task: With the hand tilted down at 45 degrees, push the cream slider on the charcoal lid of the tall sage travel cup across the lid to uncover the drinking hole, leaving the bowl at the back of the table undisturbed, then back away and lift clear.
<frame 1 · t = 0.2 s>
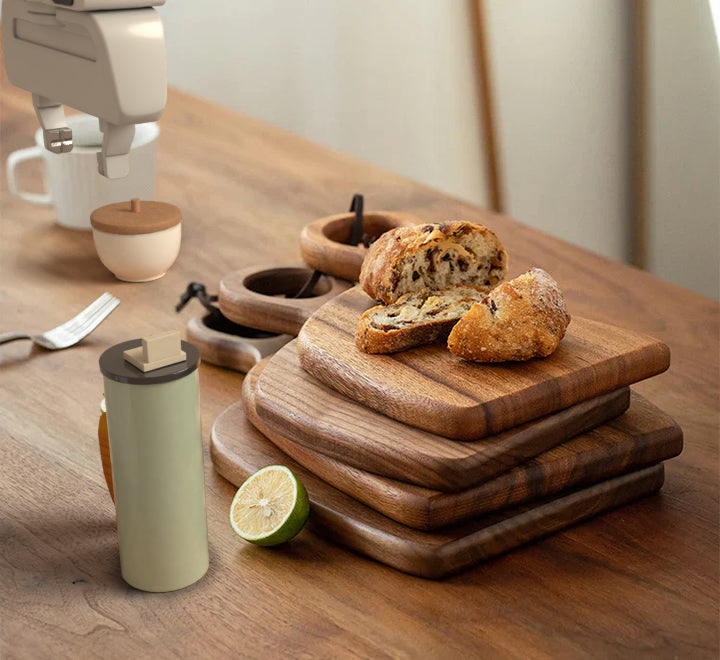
hand: (85, 163, 81), 33 cm above the table, tool pointing down, fingers open, 8 cm apart
carrot: (135, 529, 94), on the table
lidded bowl: (140, 275, 155), on the table
travel cup: (165, 566, 89), on the table
cup slider: (153, 344, 81), point 20 cm above the table, slide at 0.0 cm
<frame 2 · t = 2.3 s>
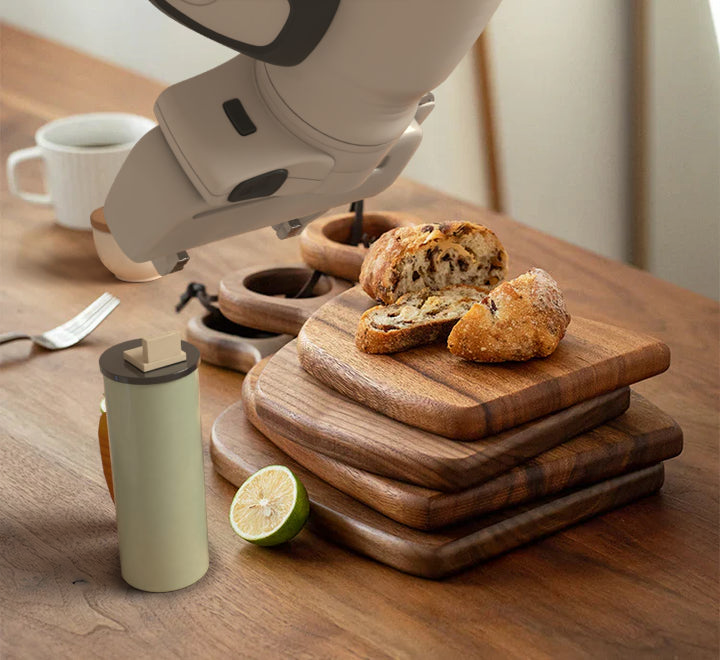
hand: (225, 246, 69), 31 cm above the table, tool tilted 45°, fingers open, 8 cm apart
nothing on the table moved.
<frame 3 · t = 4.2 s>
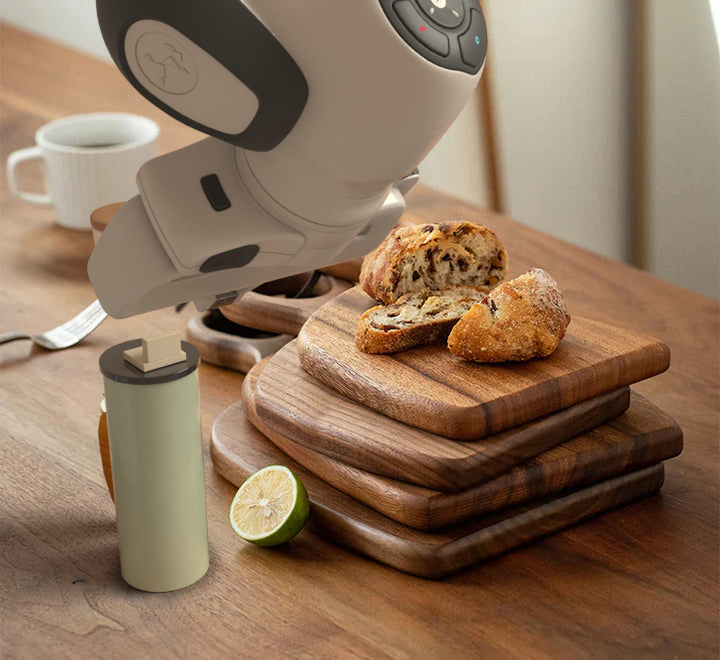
hand: (212, 298, 72), 27 cm above the table, tool tilted 45°, fingers closed
nothing on the table moved.
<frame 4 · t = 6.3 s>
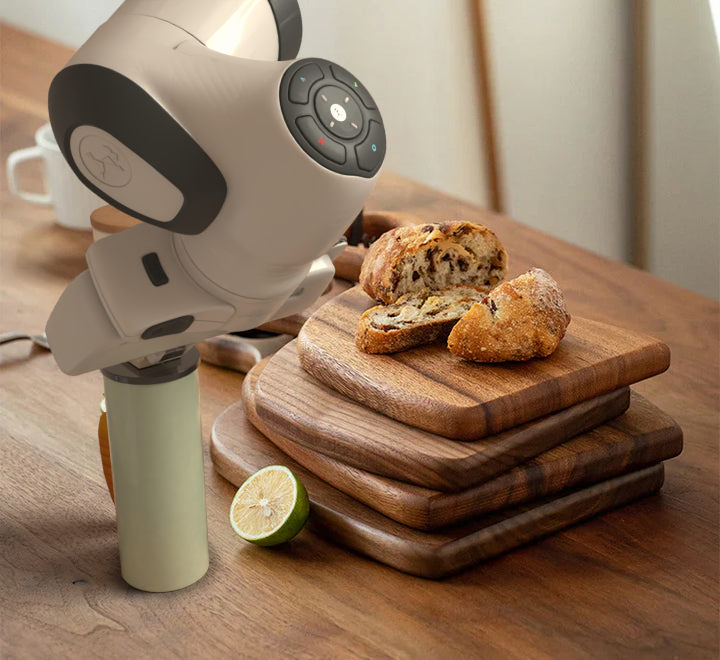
hand: (163, 350, 80), 20 cm above the table, tool tilted 45°, fingers closed, pressing on cup slider
cup slider: (149, 341, 81), point 20 cm above the table, slide at 0.7 cm, touching gripper
everything else where it was.
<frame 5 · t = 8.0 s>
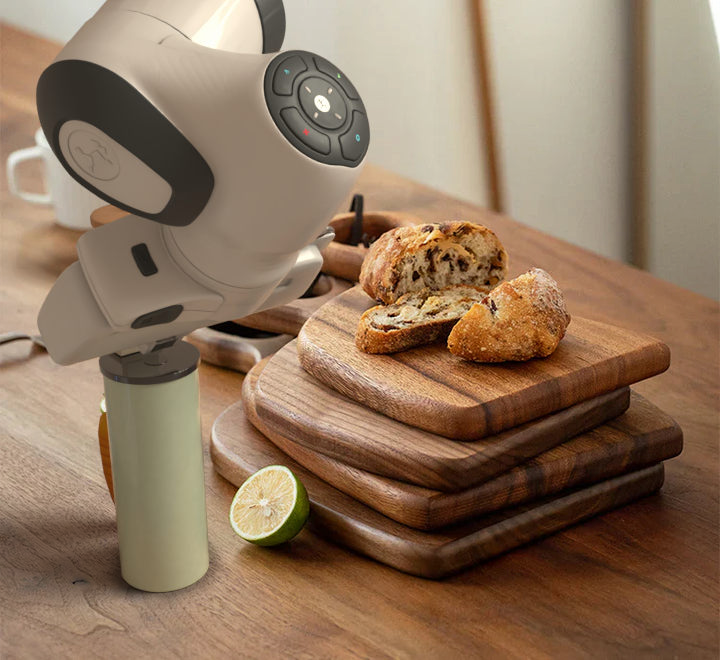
hand: (154, 341, 81), 20 cm above the table, tool tilted 45°, fingers closed
cup slider: (130, 330, 83), point 20 cm above the table, slide at 3.6 cm
everything else where it was.
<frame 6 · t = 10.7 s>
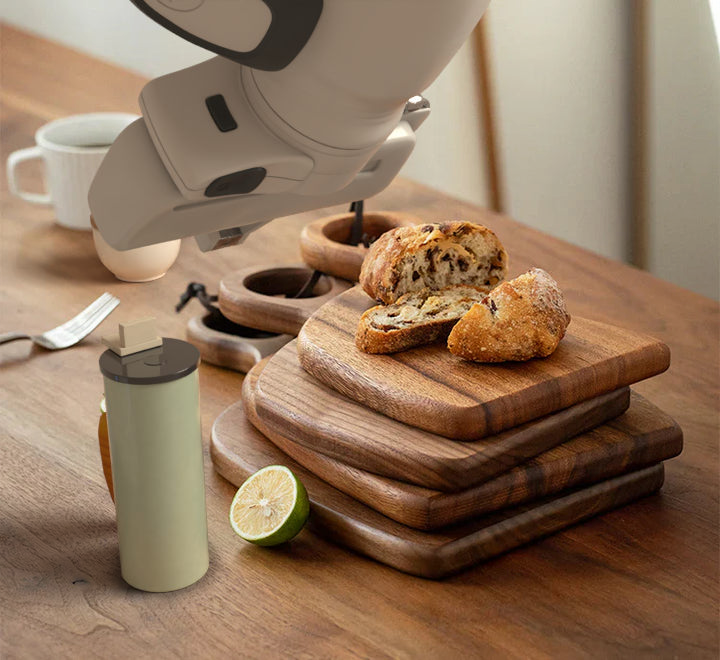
hand: (216, 239, 70), 31 cm above the table, tool tilted 45°, fingers closed
nothing on the table moved.
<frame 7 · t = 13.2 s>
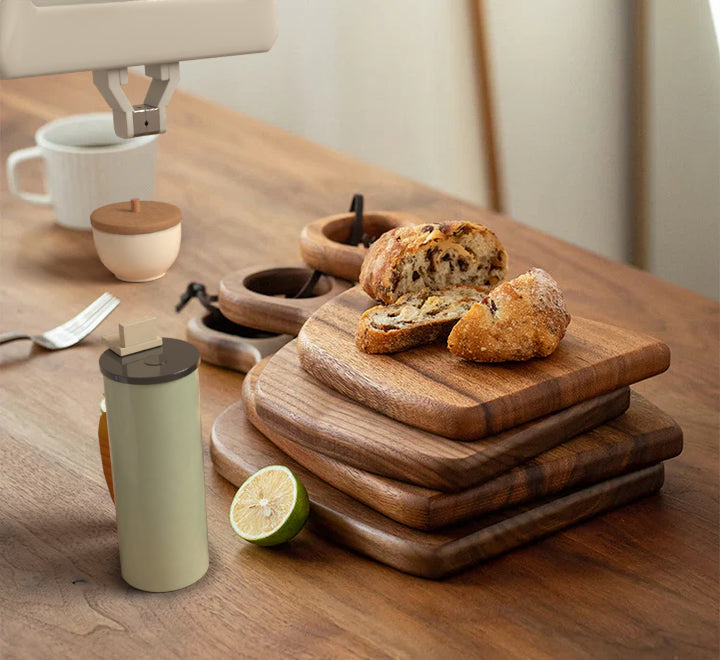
hand: (140, 135, 70), 37 cm above the table, tool pointing down, fingers closed
nothing on the table moved.
at the end: cup slider slide at 3.6 cm; lidded bowl moved 0.2 cm from its start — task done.
